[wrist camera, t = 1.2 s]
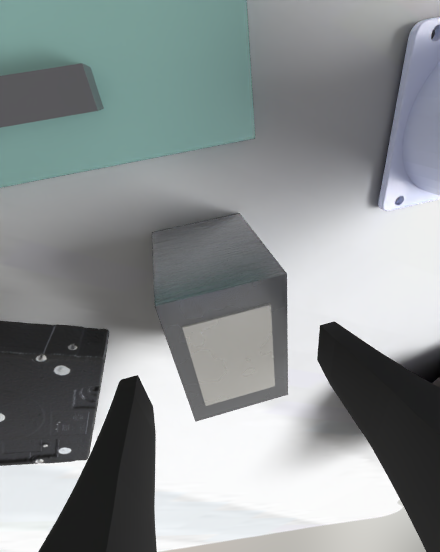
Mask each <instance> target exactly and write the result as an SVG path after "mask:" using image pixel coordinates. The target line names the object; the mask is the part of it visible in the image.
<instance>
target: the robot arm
mask: <svg viewBox="0 0 440 552" xmlns="http://www.w3.org/2000/svg"><path fill="white" fill-rule="evenodd" d="M434 28H435V35H434V37H433V39H431V33H432V31H433V29H434ZM398 197H399V198H398ZM397 198H398V200H397V201H396V199H397ZM438 199H440V17H435V18H429V19H425V20H422V21H419V22H418V23H417V24H416V25H414V27H413V28H412V30H411V32H410V34H409V38H408V43H407V48H406V54H405V59H404V65H403V70H402V76H401V81H400V87H399V92H398V98H397V103H396V109H395V114H394V120H393V125H392V131H391V136H390V142H389V147H388V153H387V158H386V164H385V169H384V175H383V180H382V186H381V191H380V197H379V202H378V206H379V207H380V208H381V209H383V210H385V211H391V210H395V209H399V208H404V207H408V206H412V205H417V204H421V203H425V202H430V201H434V200H438ZM395 201H396V202H395ZM317 360H318V362H319V364H320V366H321V368H322V370H323V372H324V374H325V376H326V378H327V379H328V381H329V383H330V385H331V386H332V388H333V389H334V391H335V392H336V394H337V395H338V397H339V398H340V400H341V401H342V403H343V404H344V406H345V407H346V409H347V410H348V412H349V413H350V415H351V416H352V418H353V419H354V421H355V422H356V424H357V425H358V427H359V428H360V430H361V431H362V433H363V434H364V436H365V437H366V439H367V440H368V442H369V444H370V445H371V447H372V448H373V450H374V452H375V454H376V456H377V457H378V459H379V461H380V463H381V465H382V466H383V468H384V470H385V472H386V474H387V475H388V477H389V479H390V481H391V483H392V485H393V487H394V489H395V490H396V492H397V494H398V496H399V498H400V500H401V502H402V504H403V505H404V507H405V509H406V511H407V513H408V515H409V517H410V519H411V521H412V523H413V525H414V527H415V529H416V531H417V533H418V535H419V537H420V539H421V541H422V543H423V545H424V547H425V550H426V552H440V387H438V386H436V385H434V384H432V383H430V382H429V381H427V380H425V379H423V378H421V377H420V376H418V375H416V374H415V373H413V372H411V371H409V370H408V369H406V368H404V367H403V366H401V365H399V364H398V363H396V362H395V361H393V360H391V359H390V358H388V357H387V356H385V355H384V354H382V353H380V352H379V351H377V350H376V349H374V348H373V347H371V346H370V345H368V344H367V343H365V342H364V341H362V340H361V339H359V338H358V337H356V336H355V335H354V334H352V333H351V332H349V331H348V330H346V329H345V328H343V327H342V326H340V325H339V324H337V323H336V322H331V323H327V324H324V325H320V333H319V345H318V358H317ZM154 495H155V423H154V413H153V406H152V404H151V402H150V400H149V398H148V396H147V393H146V391H145V389H144V387H143V385H142V383H141V381H140V379H139V377H138V375H137V376H133V377H130V378H126V379H122V380H121V381H120V382H119V384H118V387H117V390H116V393H115V396H114V398H113V401H112V404H111V406H110V409H109V412H108V414H107V417H106V419H105V422H104V424H103V426H102V429H101V431H100V434H99V436H98V438H97V441H96V443H95V445H94V448H93V450H92V452H91V454H90V456H89V458H88V460H87V463H86V465H85V467H84V469H83V471H82V473H81V475H80V477H79V479H78V481H77V483H76V485H75V487H74V489H73V491H72V493H71V495H70V497H69V499H68V501H67V503H66V504H65V506H64V508H63V510H62V512H61V514H60V515H59V517H58V519H57V521H56V523H55V524H54V526H53V528H52V530H51V531H50V533H49V535H48V536H47V538H46V540H45V541H44V543H43V545H42V547H41V548H40V550H39V552H157V551H156V535H155V515H154Z"/></svg>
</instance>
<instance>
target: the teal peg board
mask: <svg viewBox="0 0 440 552" xmlns="http://www.w3.org/2000/svg"><path fill="white" fill-rule="evenodd" d="M250 139H255V126H254V110H253V94H252V78H251V63H250V47H249V31H248V15H247V0H0V188H1V187H6V186H12V185H17V184H22V183H27V182H32V181H37V180H43V179H48V178H53V177H58V176H63V175H69V174H74V173H79V172H84V171H89V170H94V169H100V168H105V167H110V166H115V165H120V164H125V163H131V162H136V161H141V160H146V159H151V158H156V157H162V156H167V155H172V154H177V153H182V152H187V151H193V150H198V149H203V148H208V147H213V146H219V145H224V144H229V143H234V142H239V141H244V140H250Z"/></svg>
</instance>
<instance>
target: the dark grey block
mask: <svg viewBox="0 0 440 552" xmlns="http://www.w3.org/2000/svg"><path fill="white" fill-rule="evenodd" d="M152 246H153V271H154V296H155V308H156V311H157V314H158V317H159V319H160V322H161V325H162V328H163V331H164V334H165V336H166V339H167V342H168V345H169V348H170V350H171V353H172V356H173V359H174V362H175V365H176V367H177V370H178V373H179V376H180V379H181V382H182V384H183V387H184V390H185V393H186V396H187V399H188V401H189V404H190V407H191V410H192V413H193V416H194V418H195V421H199V420H203V419H206V418H209V417H213V416H216V415H220V414H223V413H226V412H230V411H233V410H237V409H240V408H244V407H247V406H250V405H254V404H257V403H261V402H264V401H267V400H271V399H274V398H278V397H281V396H285V395H288V352H287V273H286V272H285V271H284V269H283V268H282V267H281V266H280V264H279V263H278V262H277V260H276V259H275V258H274V257H273V255H272V254H271V253H270V252H269V250H268V249H267V248H266V246H265V245H264V244H263V243H262V241H261V240H260V239H259V237H258V236H257V235H256V234H255V232H254V231H253V230H252V229H251V227H250V226H249V225H248V223H247V222H246V221H245V220H244V218H243V217H242V216H241V215H240V213H238V214H234V215H229V216H225V217H220V218H215V219H211V220H206V221H202V222H197V223H193V224H188V225H184V226H179V227H175V228H170V229H165V230H161V231H156V232H152Z"/></svg>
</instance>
